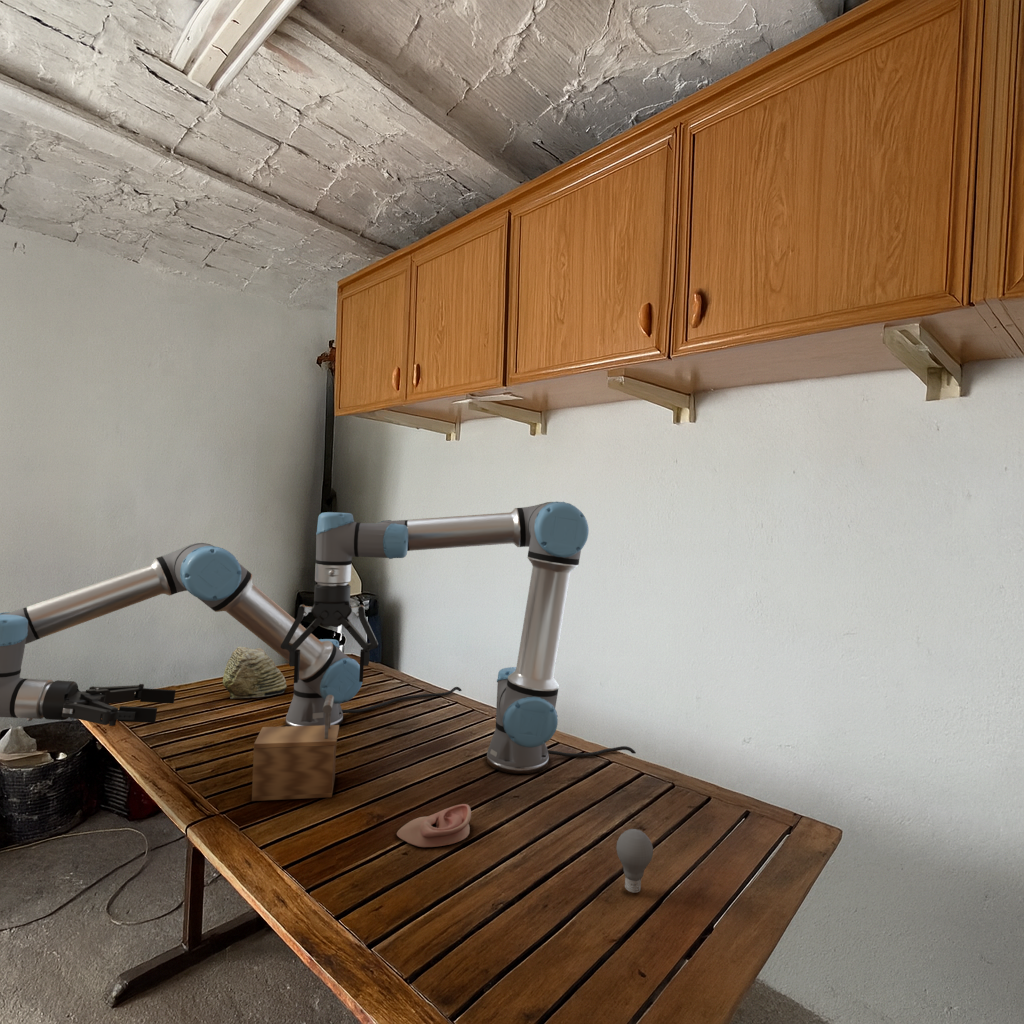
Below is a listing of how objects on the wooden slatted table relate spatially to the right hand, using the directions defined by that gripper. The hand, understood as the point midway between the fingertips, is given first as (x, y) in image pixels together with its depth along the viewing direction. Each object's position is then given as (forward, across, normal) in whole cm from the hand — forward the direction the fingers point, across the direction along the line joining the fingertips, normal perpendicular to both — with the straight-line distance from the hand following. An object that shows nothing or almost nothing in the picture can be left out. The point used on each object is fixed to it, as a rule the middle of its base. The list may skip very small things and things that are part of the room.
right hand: (329, 680), depth 138 cm
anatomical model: (+23, +22, -22) cm, 39 cm away
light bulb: (+23, +53, -44) cm, 73 cm away
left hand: (+5, -33, 0) cm, 33 cm away
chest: (+23, -6, 0) cm, 24 cm away
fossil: (+23, -27, +67) cm, 76 cm away
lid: (+12, -6, 0) cm, 14 cm away
